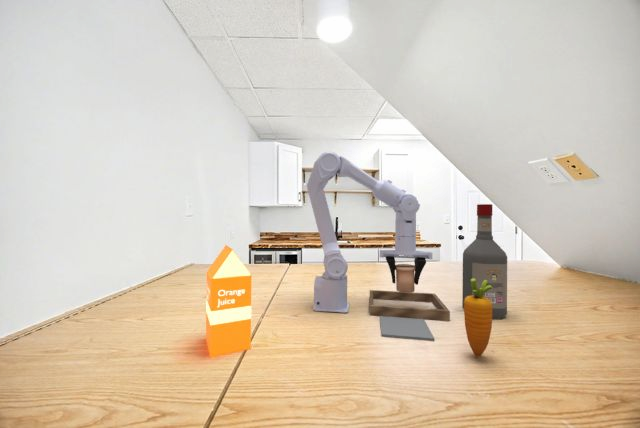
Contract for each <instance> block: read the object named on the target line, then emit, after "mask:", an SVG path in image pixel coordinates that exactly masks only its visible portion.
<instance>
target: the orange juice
mask: <svg viewBox="0 0 640 428" xmlns="http://www.w3.org/2000/svg"><path fill="white" fill-rule="evenodd" d="M205 297H206V299H205V310H206V311H205V312H206V314H205V318H206V319H205V339H206V345H207V350H208V353H209V357H210V358H215V357H220V356H225V355H228V354H233V353H238V352H242V351H247V350H250V349H251V348H252V340H251V339H252V274H251V273H250V271H249V270H248V269H247V267H246V266H245V264H244V263H243V262H242V260H241V259H240V257H239V256H238V255H237V253H236V252H235V251H234V249H233V248H231V247H230V246H229V245H227V244H225V246H224V247H223V248H222V250H221V251H220V252H219V254H218V255H217V257H216V258H215V260H214V261H213V262H212V264H211V265H210V266H209V268H208V269H207V270H206V296H205Z"/></svg>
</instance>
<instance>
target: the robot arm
mask: <svg viewBox="0 0 640 428" xmlns="http://www.w3.org/2000/svg"><path fill="white" fill-rule="evenodd" d="M336 175H337V178H350V179H351V180H352V181H355V182H356V183H358V184H360V185H362V186H364V188H367V189H369V190H370V191H371V193H372V197H374V198H375V199H376V200H378V201H380V202H382V203H383V204H385V205H386V206H388V207H390V208H392V209H393V211H394V213H395V227H394V229H395V230H394V232H395V234H394V235H395V236H394V240H395V241H394V249H379V255H378V256H379V258H382V259H383V258H385V260H386V261H385V262H387V266H388V269H389V271H390V274H391V282H392V284H396V270H395V265H396V258H397V259H398V258H399V259H413V261H414V266H416V270H415V271H414V285H416V286H417V285H419V281H420V276H421V274H422V272H423V270H424V268H425V266H426V264H427V260H433V252H432V251H422V250H417V249H416V247H417V244H416V243H417V242H416V241H417V212H418V211H419V209H420V206H421V204H420V203H419V201H418V200H419V199H417V197H416V196H415V195H413V194H407V193H406V192H407V191H406V190H405V189H401V188H398V187H397V186H395V185H394V184H393V181H392V180H390V179H387V180H386V179H379V180H377V178H375V177H373V176H372V175H370V174H369V173H367V172H366V171H364V170H363V169H361V167H359V166H358V165H356V164H354V163H353V162H351V161H350V160H348V159H347V158H346V157H344V156H341V155H338V154H337V153H336V152H334V151H324V152H322V153H321V154H320V155H319V156H318V158H316V160H315V161H314V163H313V166H312V170H311V172H310V175H309V178H308V181H307V184H306V189H307V192H308V196H309V201H310V204H311V208H312V213H313V216H314V219H315V224H316V227H317V228H316V229H317V231H318V234H319V238H320V242H321V246H322V247H321V248H322V249H323V254H324V257H323V266H324V272H323V273H322V275H316V276H315V279H314V282H313V284H314V285H313V311H314V312H329V313H343V314H344V313H345V314H347V313H348V311H349V308H350V302H349V301H348V274H347V272H348V266H349V265H348V262H347V261H346V259H345V258H344V256H343V254H342V252H341V249H340V246H339V243H338V240H337V236H336V233H335V232H336V231H335V228H334V225H333V224H334V223H333V219H332V217H331V212H330V209H329V205H328V201H327V197H326V194H325V188H326V185H327V184H328V183H329V181H330V180H332V179H333V178H334V177H335V176H336Z"/></svg>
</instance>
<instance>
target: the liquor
mask: <svg viewBox="0 0 640 428" xmlns="http://www.w3.org/2000/svg"><path fill="white" fill-rule="evenodd" d="M476 216H477V224H476V225H477V226H476V227H477V229H476V230H477V231H476V235H475V238H474V240H473V241H472V242H471V243H470V244H469V245H467V247H466V248H465V249H463V250H464V251H463V253H462V303H461V304H462V309H464V300H465V298H466V297H467V296H472V295H474V293H473V290H472V286H471V282H470V281H471V279H473V278H474V279H475V280H476V284H477V287H478V290H479V289H480V288H481V286H482V283H483V281H484V280H487V281H488V282H487V284H486V286H489V285H490V286H491V287H492V289H489V290H488V291H487V292H486V293H485V294H484V295H483V297H485V298H488V299H489V300H490V301H491V303H492V308H493V310H492V320H503V319H504V318H505V317H506V316H507V314H508V255H507V253H506V252H505V250H504V249H503V248H501V247H500V245H499V244H498V243H497V242H495V240H494V235H493V232H492V231H493V223H492V222H493V219H492V218H493V204H491V203H490V204H488V203H487V204H483V203H480V204H479V203H478V204H476ZM486 286H485V287H486Z"/></svg>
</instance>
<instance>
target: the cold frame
mask: <svg viewBox="0 0 640 428" xmlns="http://www.w3.org/2000/svg"><path fill="white" fill-rule="evenodd" d="M374 300H387V301H401V302H402V301H403V302H405V301H406V302H418V303H419V302H420V303H432V304H433V306H434V307H435V308H423V307H408V306H395V305H394V306H393V305H380V304H379V305H378V304H377V305H376V304H375V303H374ZM369 316H373V317H374V316H376V317H380V316H384V317H398V318H412V319H424V320H429V321H431V320H432V321H444V322H450V321H451V311H450V309H449V308H448V307H447V306H446V305H445V304H444V303H443V301H442V300H441V299H440V297H438V295H437V294H436V293H431V292H415V291H414V292H410V293H405V292H399V291H397V290H395V291H393V290H377V289H376V290H375V289H369Z"/></svg>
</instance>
